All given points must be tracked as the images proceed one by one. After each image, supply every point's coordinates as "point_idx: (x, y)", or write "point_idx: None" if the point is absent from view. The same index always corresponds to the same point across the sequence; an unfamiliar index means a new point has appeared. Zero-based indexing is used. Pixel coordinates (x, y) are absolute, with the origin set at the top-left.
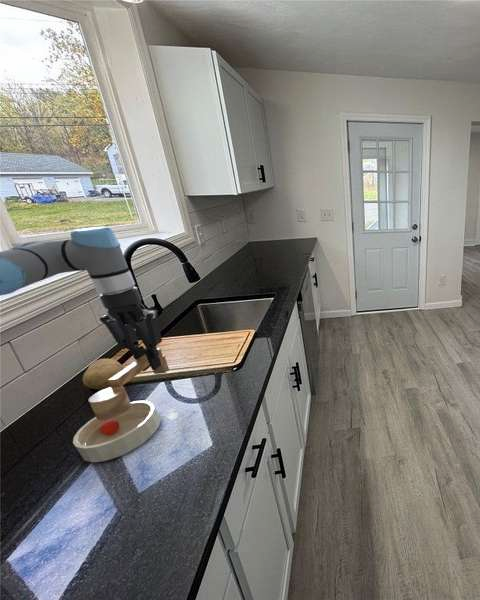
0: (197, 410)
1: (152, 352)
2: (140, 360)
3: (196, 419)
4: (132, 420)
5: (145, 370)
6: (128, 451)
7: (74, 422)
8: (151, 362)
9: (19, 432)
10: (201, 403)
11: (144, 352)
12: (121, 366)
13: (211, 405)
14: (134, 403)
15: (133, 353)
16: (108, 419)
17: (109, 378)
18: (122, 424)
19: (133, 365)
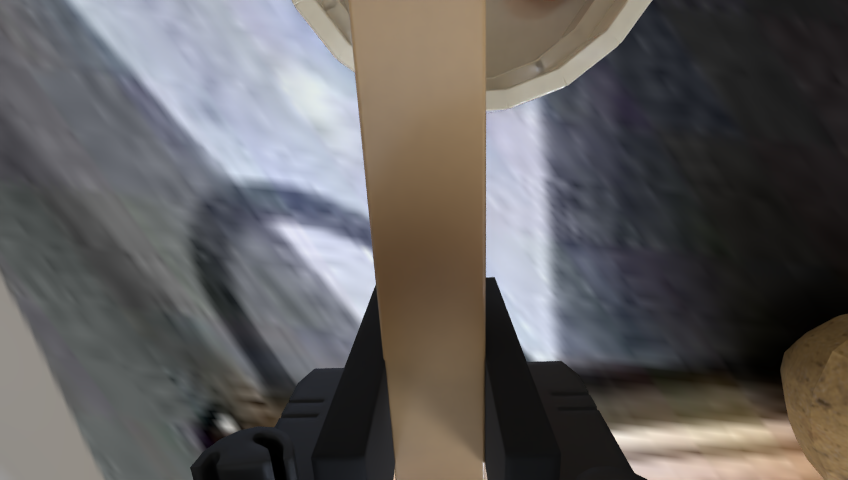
0: (202, 124)
1: (298, 429)
2: (412, 291)
3: (157, 52)
4: (498, 61)
5: None
6: None
7: (837, 95)
8: (366, 321)
9: None
10: (219, 177)
11: (490, 469)
12: (834, 477)
13: (153, 155)
14: (488, 90)
15: (588, 432)
16: (606, 13)
17: (838, 365)
18: (533, 32)
19: (403, 148)
